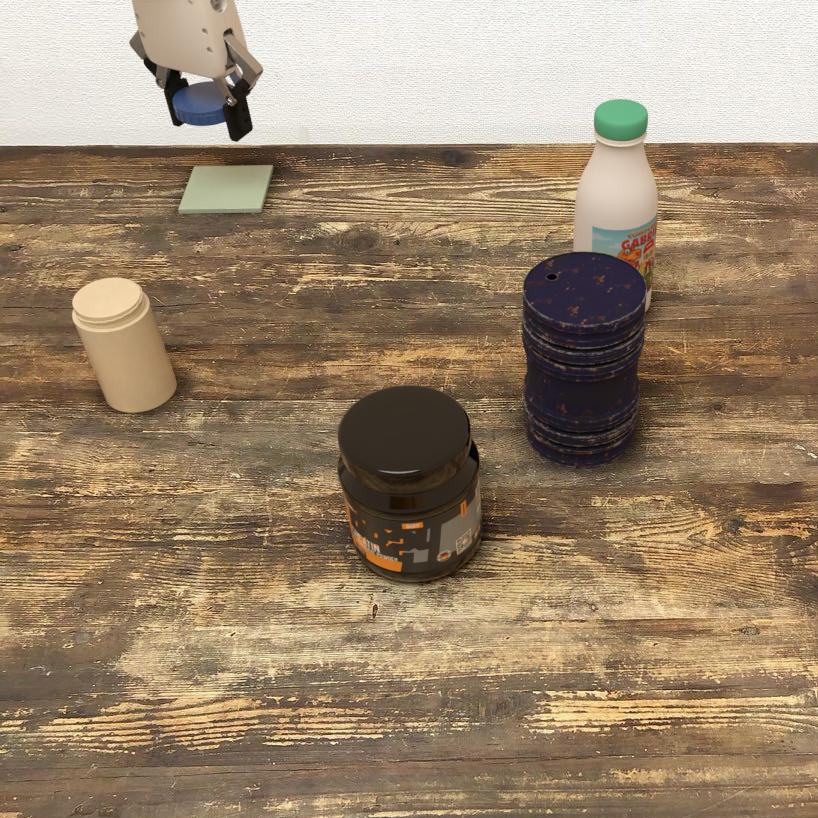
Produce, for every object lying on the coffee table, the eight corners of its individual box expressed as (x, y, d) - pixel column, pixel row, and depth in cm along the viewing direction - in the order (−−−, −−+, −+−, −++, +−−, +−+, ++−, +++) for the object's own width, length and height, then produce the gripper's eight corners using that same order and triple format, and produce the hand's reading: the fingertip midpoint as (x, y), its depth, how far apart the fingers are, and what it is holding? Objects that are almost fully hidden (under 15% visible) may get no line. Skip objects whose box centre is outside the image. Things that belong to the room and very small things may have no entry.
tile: (179, 214, 117) (177, 209, 116) (195, 170, 123) (194, 165, 122) (261, 212, 117) (260, 208, 116) (273, 169, 123) (272, 164, 122)
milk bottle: (560, 317, 104) (562, 122, 89) (588, 274, 109) (594, 82, 94) (635, 336, 102) (650, 139, 87) (660, 291, 107) (678, 97, 92)
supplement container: (328, 528, 86) (302, 417, 77) (437, 471, 90) (424, 360, 81) (398, 610, 81) (379, 501, 72) (510, 546, 85) (506, 435, 76)
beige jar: (119, 422, 95) (81, 329, 87) (95, 383, 98) (56, 290, 91) (187, 395, 97) (156, 302, 89) (161, 358, 101) (130, 265, 93)
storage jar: (655, 413, 95) (669, 271, 84) (607, 484, 89) (615, 341, 78) (555, 379, 98) (556, 238, 87) (503, 445, 93) (497, 303, 81)
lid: (255, 102, 114) (252, 88, 113) (215, 132, 110) (211, 118, 109) (203, 89, 116) (199, 75, 115) (161, 118, 112) (157, 104, 111)
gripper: (267, -51, 100) (301, 129, 114) (122, -79, 105) (171, 96, 119) (217, -21, 96) (259, 162, 109) (69, -52, 101) (126, 127, 115)
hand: (213, 126), depth 114 cm, fingers closed on lid, 6 cm apart
